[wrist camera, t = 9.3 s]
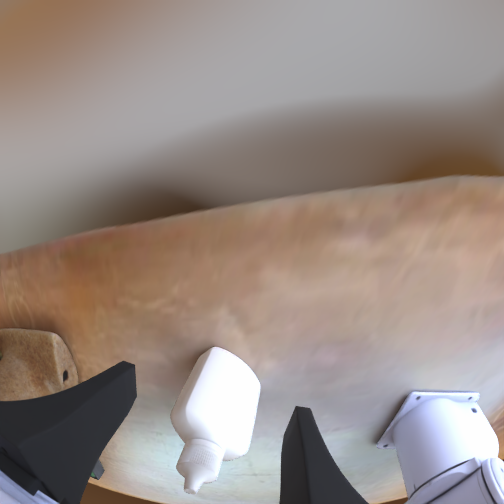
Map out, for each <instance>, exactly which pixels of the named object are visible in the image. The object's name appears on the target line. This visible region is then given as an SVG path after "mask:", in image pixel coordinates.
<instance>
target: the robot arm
mask: <svg viewBox="0 0 504 504" xmlns="http://www.w3.org/2000/svg"><path fill="white" fill-rule="evenodd" d="M417 396H418V397H417ZM136 397H137V391H136V374H135V365H134V364H131V363H128V362H126V361H122V362H120V363H118V364H116V365H115V366H113V367H111V368H109V369H107V370H106V371H104V372H102V373H100V374H98V375H96V376H94V377H92V378H90V379H89V380H87V381H84V382H82V383H80V384H78V385H76V386H73V387H71V388H68V389H66V390H63V391H60V392H57V393H54V394H50V395H46V396H42V397H37V398H32V399H26V400H16V401H0V504H80V501H81V498H82V495H83V492H84V490H85V487H86V485H87V483H88V480H89V478H90V476H91V473H92V471H93V469H94V467H95V465H96V463H97V461H98V459H99V457H100V455H101V453H102V451H103V450H104V448H105V446H106V445H107V443H108V442H109V440H110V439H111V438H112V436H113V435H114V433H115V432H116V430H117V429H118V428H119V426H120V425H121V423H122V422H123V420H124V419H125V418H126V416H127V415H128V413H129V411H130V409H131V407H132V405H133V403H134V401H135V399H136ZM479 397H480V395H479V393H440V392H411V393H410V394H409V395H408V397H407V398H406V400H405V402H404V403H403V405H402V407H401V408H400V410H399V411H398V413H397V415H396V416H395V418H394V419H393V421H392V422H391V424H390V425H389V427H388V428H387V430H386V431H385V433H384V434H383V436H382V437H381V438H380V440H379V441H378V443H377V444H376V445H377V448H379V449H396V452H397V456H398V459H399V463H400V467H401V471H402V475H403V479H404V483H405V487H406V491H407V496H408V500H409V501H407V502H406V503H405V504H504V462H503V461H502V460H501V459H499V458H497V457H498V451H499V445H498V439H497V437H496V434H495V433H494V431H493V429H492V428H491V426H490V424H489V422H488V421H487V419H486V417H485V416H484V414H483V413H482V411H481V409H480V408H479V406H478V404H477V403H476V402H477V400H478V399H479ZM280 504H369V503H368V502H366V501H365V500H364V499H363V498H362V496H361V495H360V494H359V493H358V492H357V491H356V490H355V489H354V488H353V487H352V485H351V484H350V483H349V482H348V480H347V479H346V478H345V476H344V475H343V474H342V472H341V471H340V469H339V468H338V466H337V465H336V463H335V461H334V460H333V458H332V456H331V454H330V453H329V451H328V449H327V447H326V445H325V443H324V441H323V439H322V436H321V434H320V432H319V430H318V427H317V425H316V422H315V420H314V417H313V414H312V411H311V409H310V408H305V407H299V406H296V407H295V409H294V412H293V414H292V417H291V419H290V422H289V424H288V426H287V429H286V431H285V434H284V438H283V445H282V452H281V491H280Z"/></svg>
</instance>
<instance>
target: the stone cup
mask: <svg viewBox="0 0 504 504" xmlns="http://www.w3.org/2000/svg"><path fill="white" fill-rule="evenodd" d="M0 350H1V353H2V355H3V358H2V359H1V361H0V401H16V400H26V399H32V398H37V397H42V396H46V395H50V394H54V393H57V392H60V391H63V390H66V389H68V388H71V387H73V386H76V385H78V384H79V381H78V374H77V369H76V366H75V364H74V361H73V358H72V356H71V353H70V352H69V350H68V348H67V346H66V345H65V343H64V342H63V340H62V339H61V338H60V337H59V336H58V335H57V334H55V333H53V332H47V331H41V330H30V329H20V328H3V329H0Z"/></svg>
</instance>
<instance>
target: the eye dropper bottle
mask: <svg viewBox="0 0 504 504" xmlns="http://www.w3.org/2000/svg"><path fill="white" fill-rule="evenodd" d="M259 394H260V383H259V381H258V379H257V377H256V375H255V374H254V372H253V371H252V370H251V369H250V367H249V366H248V365H247V364H246V363H245V362H243V361H242V360H241V359H240V358H238V357H237V356H235V355H234V354H232V353H230V352H228V351H227V350H224V349H222V348H219V347H212V348H210V349H209V350H207V351H206V352H205V353H203V354H202V355H201V356H199V358H198V360H197V362H196V363H195V365H194V367H193V369H192V371H191V373H190V375H189V377H188V379H187V381H186V383H185V385H184V387H183V389H182V391H181V393H180V395H179V397H178V399H177V401H176V403H175V405H174V407H173V410H172V412H171V415H170V418H171V422H172V424H173V427H174V428H175V430H176V432H177V433H178V435H179V436H180V438H181V439H182V440H183V441H184V443H185V446H184V448H183V451H182V453H181V455H180V458H179V460H178V463H177V465H176V469H177V471H178V472H179V473H180V474H181V475H182V476H183V477H185V483H184V491H185V492H186V493H188V494H192V495H195V494H196V493H197V492H198V490H199V488H200V487H201V485H202V484H203V483H204V484H207V483H212V482H214V481H216V480H217V478H218V474H219V470H220V467H221V463H222V461H231V460H234V459H237V458H239V457H241V456H243V455H244V454H246V453H247V451H248V449H249V446H250V442H251V437H252V433H253V427H254V422H255V417H256V411H257V406H258V400H259Z"/></svg>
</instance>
